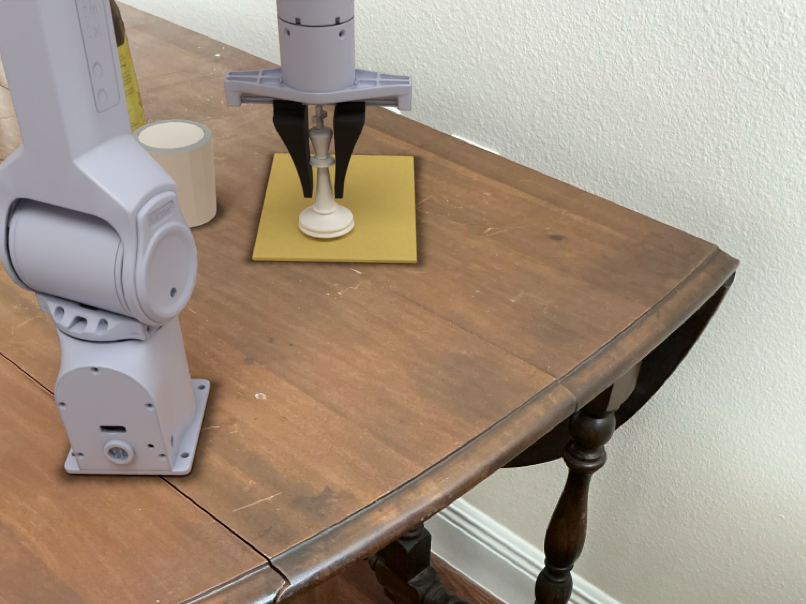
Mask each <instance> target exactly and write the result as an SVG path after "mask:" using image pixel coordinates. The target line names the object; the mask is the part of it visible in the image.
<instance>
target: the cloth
mask: <svg viewBox="0 0 806 604" xmlns="http://www.w3.org/2000/svg"><path fill="white" fill-rule="evenodd" d="M310 154H311V157H312V156H313V155H315V154H316V153H310ZM330 155H332V156H333V157H334V159H335V153H334V154H333V153H331V154H330ZM328 168H329V174H330V181H331V186H332V191H333V197H334V201H335V202H336V203H337V204H338V205H341V206H344V207H346V208H347V209H349V210H350V211H351V212H352V214H353V220H354V227H353V228H352V230H351V231H349V232H348V233H346V234H344V235H342V236H338V237H333V238H317V237H312V236H309V235H307V234H305V233H304V232H302V231H301V230H300V228H299V225H298V224H299V215H300V213H301V212H302V211H303V210H304V209H306V208H308V207H310V206H312V205H313V204H314V203H315V201H316V188H317V167H314V166H312V170H313V194H312V198H304V195H303V190H302V185H301V182H300V179H299V176H298V173H297V170H296V167H295V165H294V162H293V160H292V158H291V156H290V154H289V152H287V153H286V152H285V153H283V152H274V154H273V159H272V163H271V169H270V171H269V172H270V173H269V177H268V182H267V187H266V192H265V195H264V200H263V205H262V210H261V215H260V219H259V223H258V229H257V234H256V238H255V242H254V247H253V252H252V257H251V260H252V261H259V262H261V261H266V262H267V261H268V262H273V261H274V262H313V263H315V262H319V263H369V264H371V263H372V264H373V263H374V264H418V250H417V224H416V223H417V220H416V192H415V191H416V190H415V189H416V188H415V158H414V156H413V155H381V154H380V155H376V154H375V155H373V154H352V155H351V158H350V161H349V165H348V168H347V172H346V176H345V181H344V193H343V198H342V199H335V193H334V183H335V164H334V165H332V166H330V167H328Z"/></svg>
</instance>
